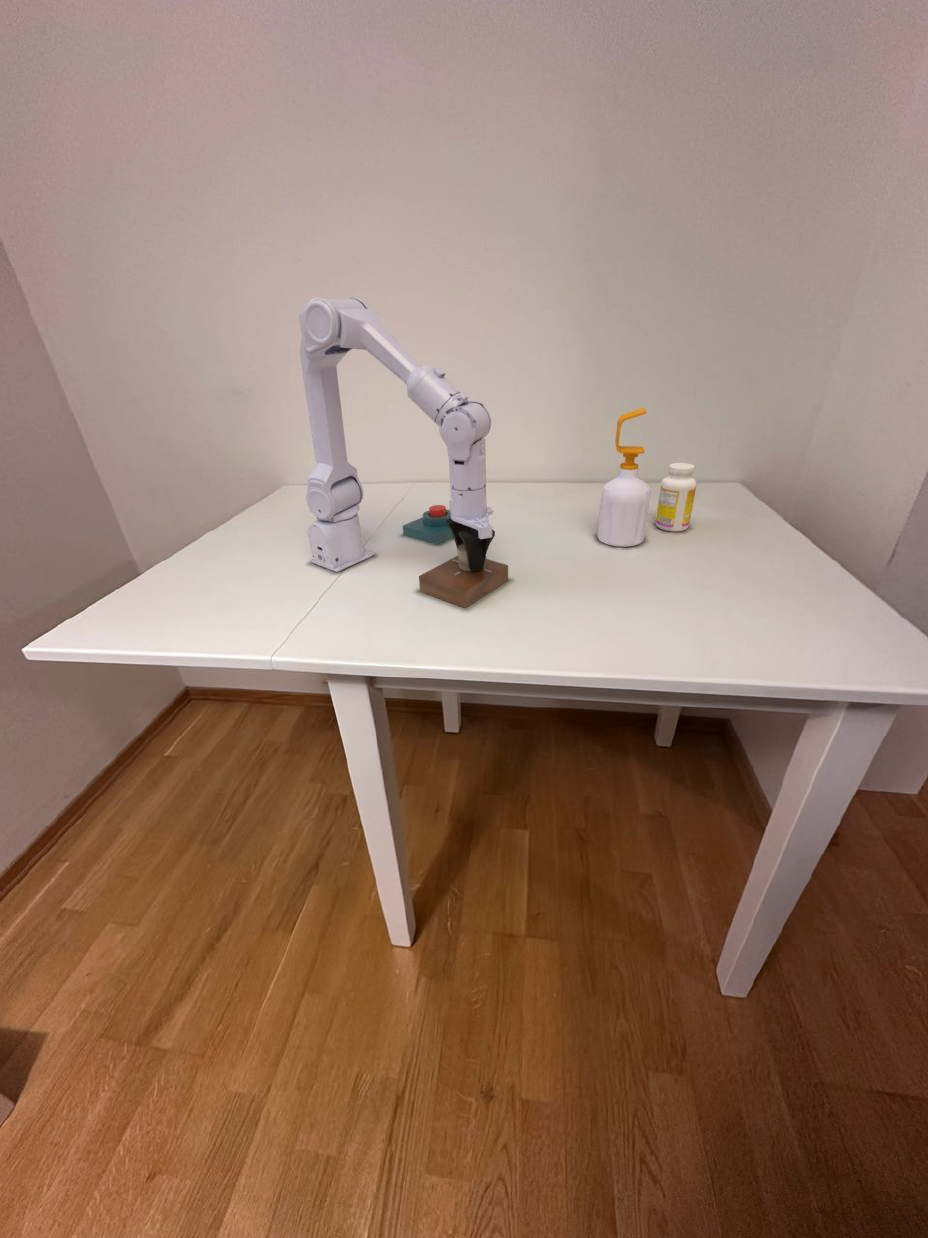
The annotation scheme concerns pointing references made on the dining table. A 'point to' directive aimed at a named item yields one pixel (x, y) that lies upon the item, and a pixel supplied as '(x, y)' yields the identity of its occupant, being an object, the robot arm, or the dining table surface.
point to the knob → (463, 558)
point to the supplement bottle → (676, 498)
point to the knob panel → (462, 581)
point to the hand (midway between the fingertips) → (471, 563)
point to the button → (437, 511)
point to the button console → (429, 528)
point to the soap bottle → (624, 498)
